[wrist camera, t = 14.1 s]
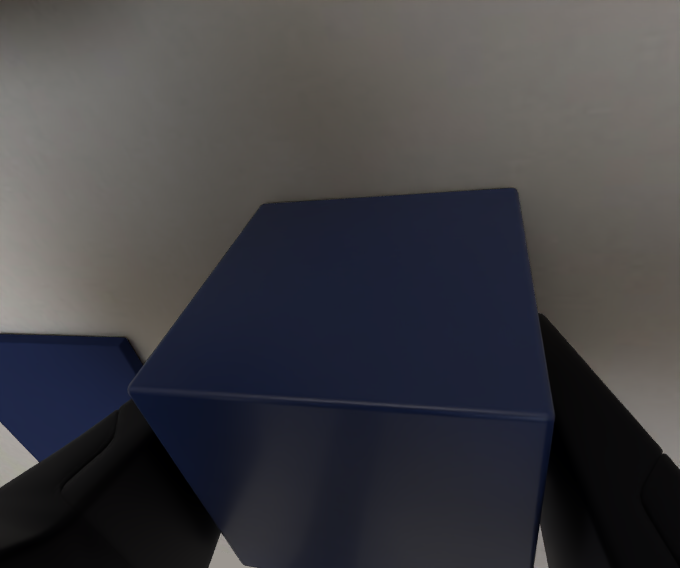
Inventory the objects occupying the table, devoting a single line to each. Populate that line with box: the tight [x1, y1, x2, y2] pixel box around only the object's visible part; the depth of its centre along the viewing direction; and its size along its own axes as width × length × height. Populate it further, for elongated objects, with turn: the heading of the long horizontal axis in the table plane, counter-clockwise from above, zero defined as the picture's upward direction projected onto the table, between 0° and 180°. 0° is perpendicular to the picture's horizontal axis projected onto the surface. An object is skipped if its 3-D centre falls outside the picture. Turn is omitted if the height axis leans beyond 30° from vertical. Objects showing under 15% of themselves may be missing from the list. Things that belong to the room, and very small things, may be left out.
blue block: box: [127, 188, 555, 568], centre depth 8 cm, size 5×5×5 cm
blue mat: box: [0, 334, 143, 462], centre depth 17 cm, size 8×8×1 cm
